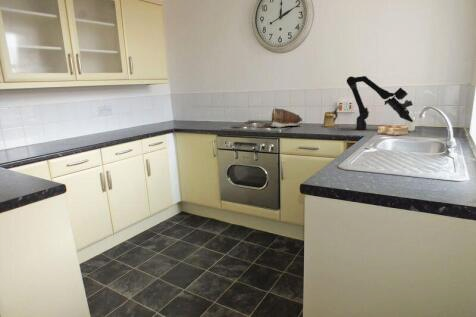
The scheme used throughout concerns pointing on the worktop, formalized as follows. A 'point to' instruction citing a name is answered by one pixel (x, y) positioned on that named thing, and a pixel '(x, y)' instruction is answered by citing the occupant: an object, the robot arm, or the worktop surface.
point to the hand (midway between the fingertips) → (412, 121)
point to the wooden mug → (330, 118)
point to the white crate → (410, 124)
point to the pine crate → (393, 130)
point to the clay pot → (284, 118)
